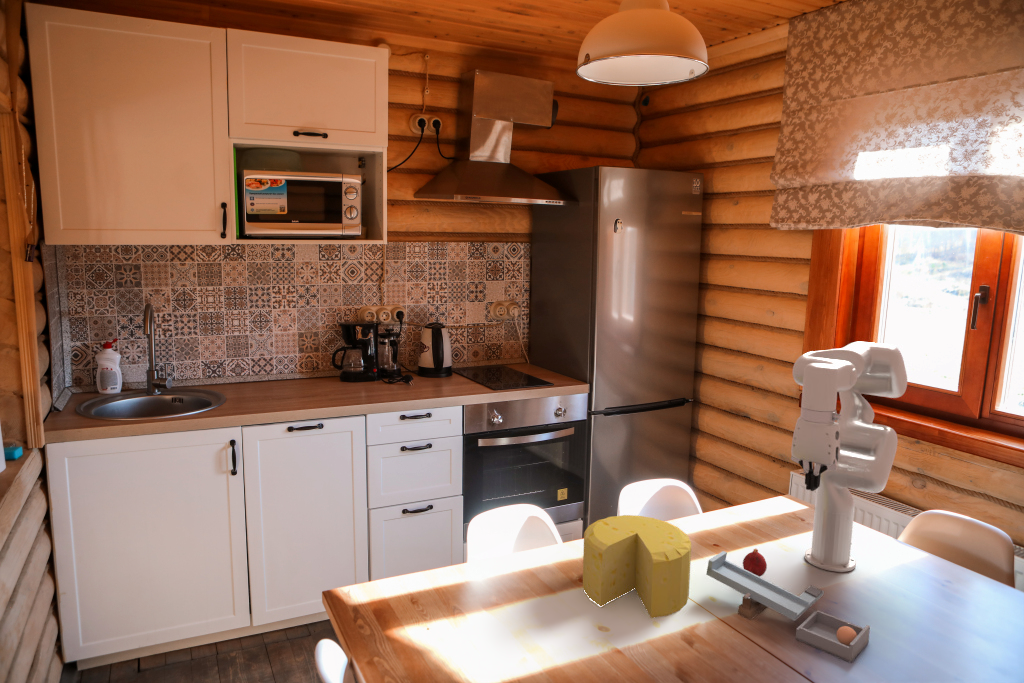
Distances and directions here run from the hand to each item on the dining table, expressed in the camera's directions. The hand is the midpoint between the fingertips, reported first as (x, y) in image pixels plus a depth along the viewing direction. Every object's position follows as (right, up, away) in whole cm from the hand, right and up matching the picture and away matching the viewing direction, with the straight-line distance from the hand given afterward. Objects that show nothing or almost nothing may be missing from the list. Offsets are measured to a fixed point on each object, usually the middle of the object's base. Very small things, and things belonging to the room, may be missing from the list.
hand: (811, 488), depth 164 cm
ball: (-2, -27, -17) cm, 32 cm away
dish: (-3, -30, -16) cm, 34 cm away
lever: (-13, -23, -2) cm, 26 cm away
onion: (-10, -26, +11) cm, 30 cm away
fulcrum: (-15, -28, -3) cm, 32 cm away
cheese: (-42, -27, +5) cm, 50 cm away
